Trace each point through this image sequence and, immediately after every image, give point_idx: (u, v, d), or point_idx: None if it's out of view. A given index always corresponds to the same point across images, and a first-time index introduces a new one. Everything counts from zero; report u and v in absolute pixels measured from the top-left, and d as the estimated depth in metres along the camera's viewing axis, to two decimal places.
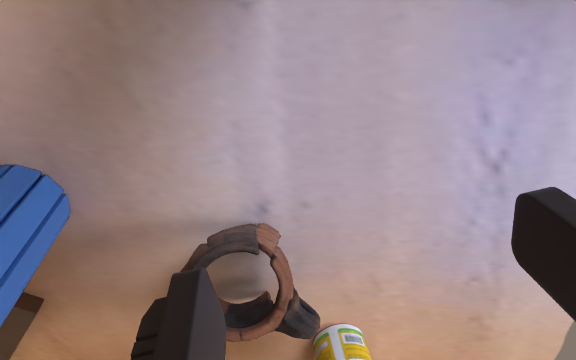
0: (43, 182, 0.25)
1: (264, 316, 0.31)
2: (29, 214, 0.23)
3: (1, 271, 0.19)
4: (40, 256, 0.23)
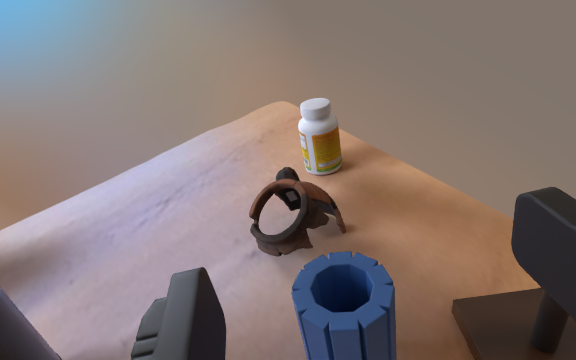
0: None
1: None
2: None
3: None
4: None
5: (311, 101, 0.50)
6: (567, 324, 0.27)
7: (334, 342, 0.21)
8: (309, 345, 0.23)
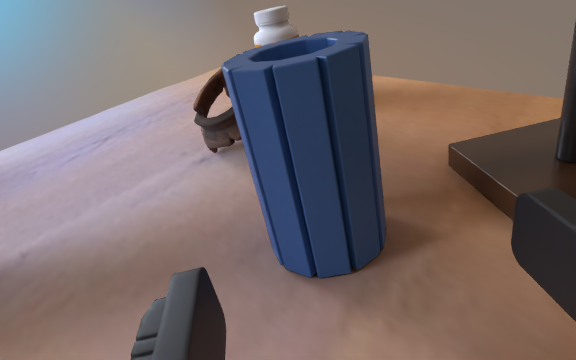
0: None
1: None
2: None
3: None
4: None
5: (266, 9, 0.44)
6: None
7: (283, 95, 0.13)
8: (251, 136, 0.15)
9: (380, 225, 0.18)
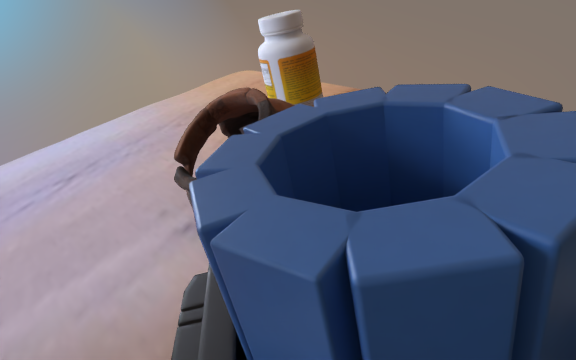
0: None
1: None
2: None
3: None
4: None
5: (274, 14, 0.34)
6: None
7: (379, 353, 0.04)
8: None
9: None
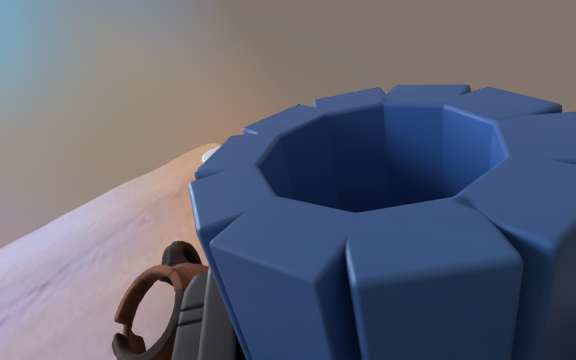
0: None
1: None
2: None
3: None
4: None
5: None
6: None
7: (378, 354, 0.04)
8: None
9: None
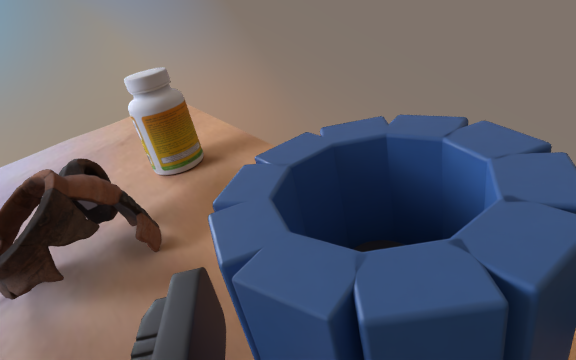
0: None
1: None
2: None
3: None
4: None
5: (143, 72, 0.36)
6: None
7: None
8: None
9: None
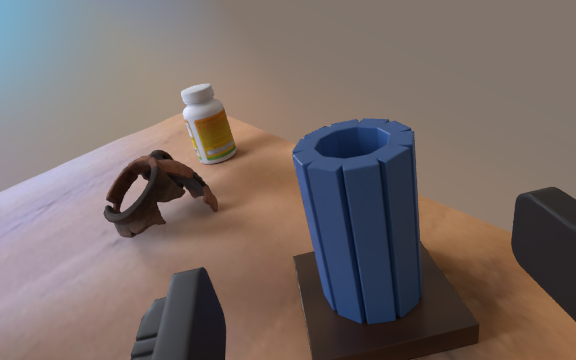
0: None
1: None
2: None
3: None
4: None
5: (193, 87, 0.48)
6: None
7: (350, 190, 0.17)
8: (319, 214, 0.19)
9: (420, 279, 0.21)
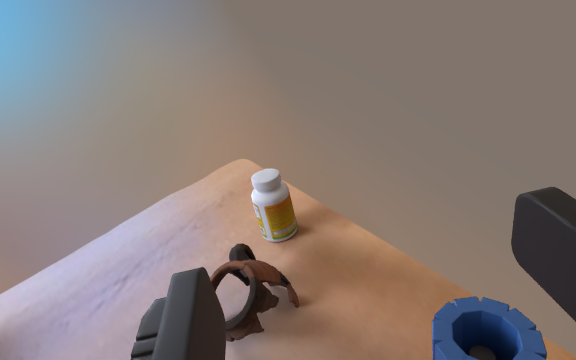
0: None
1: None
2: None
3: None
4: None
5: (262, 173, 0.52)
6: None
7: None
8: None
9: None
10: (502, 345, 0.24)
